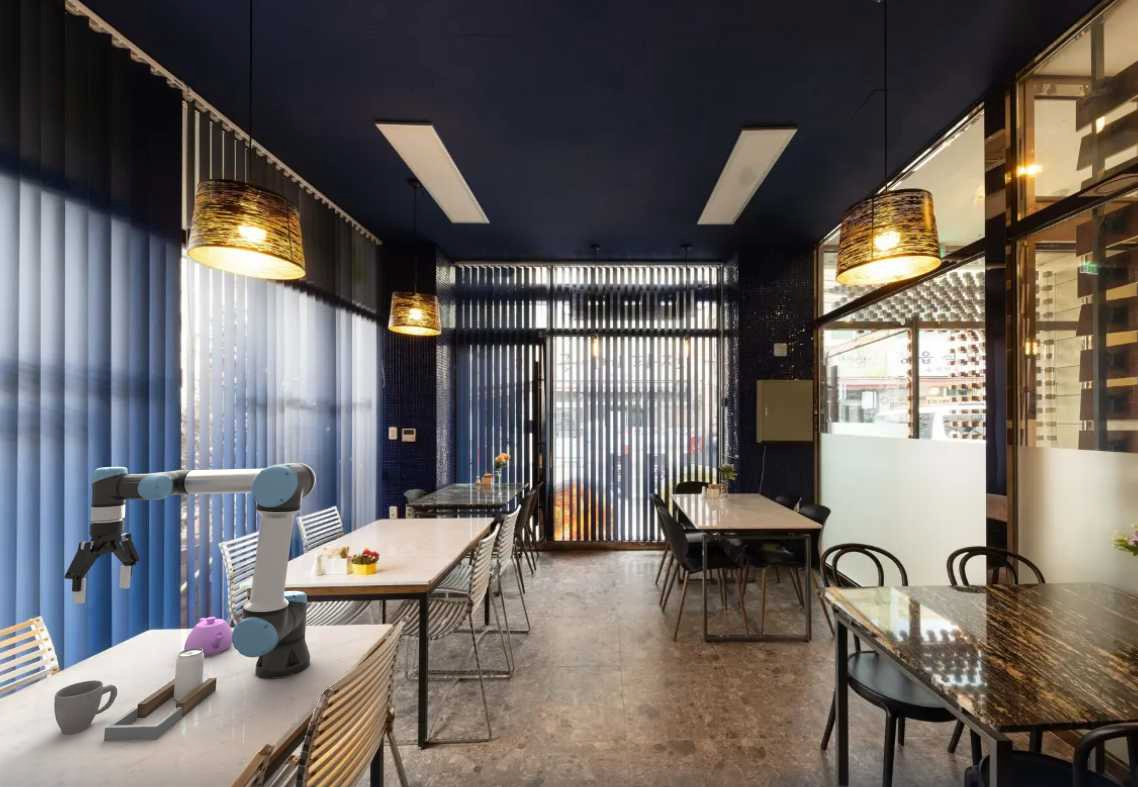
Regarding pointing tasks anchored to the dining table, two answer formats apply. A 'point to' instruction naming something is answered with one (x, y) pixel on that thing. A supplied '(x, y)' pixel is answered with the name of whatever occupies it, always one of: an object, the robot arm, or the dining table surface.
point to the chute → (168, 692)
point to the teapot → (210, 636)
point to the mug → (80, 705)
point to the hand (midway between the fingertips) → (102, 595)
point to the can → (188, 672)
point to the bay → (140, 727)
